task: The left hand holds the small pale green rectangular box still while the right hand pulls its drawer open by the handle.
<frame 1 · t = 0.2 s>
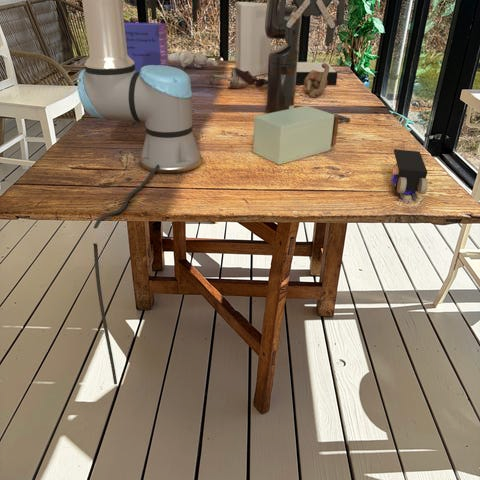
left hand: (174, 20, 152), 28 cm above the table, tool pointing down, fingers open, 13 cm apart
right hand: (308, 45, 107), 29 cm above the table, tool pointing down, fingers open, 8 cm apart
anatomical model: (314, 94, 186), on the table
tall white carton: (253, 72, 218), on the table
figurine character: (405, 190, 111), on the table
cereal box: (146, 90, 187), on the table
figurine: (247, 88, 192), on the table
pale green rectangular box: (292, 151, 132), on the table
toy: (186, 67, 225), on the table
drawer: (309, 129, 132), point 5 cm above the table, slide at 1.4 cm
disc drive: (311, 79, 208), on the table
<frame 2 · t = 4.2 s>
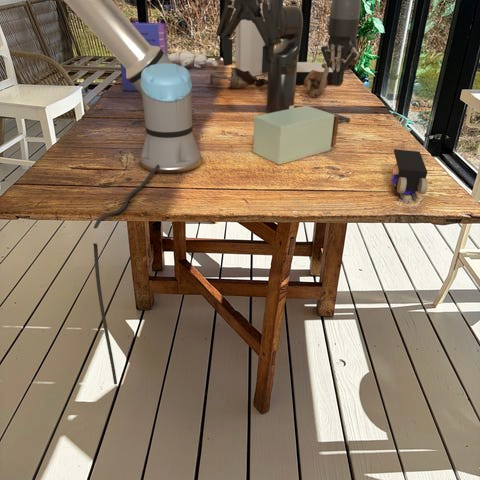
left hand: (246, 68, 128), 20 cm above the table, tool pointing down, fingers open, 13 cm apart
right hand: (336, 85, 131), 16 cm above the table, tool pointing down, fingers closed
nothing on the table moved.
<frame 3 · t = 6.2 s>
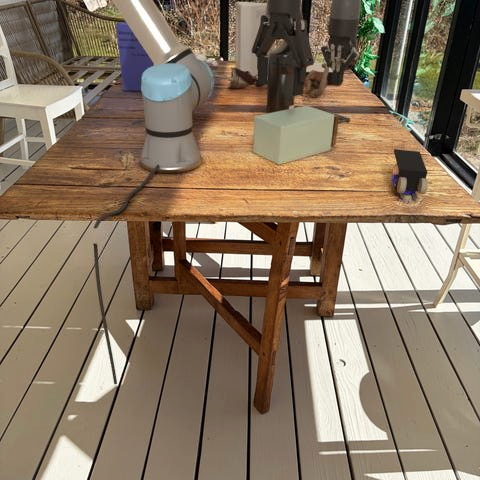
left hand: (279, 89, 120), 18 cm above the table, tool pointing down, fingers open, 13 cm apart
right hand: (336, 85, 131), 16 cm above the table, tool pointing down, fingers closed
nothing on the table moved.
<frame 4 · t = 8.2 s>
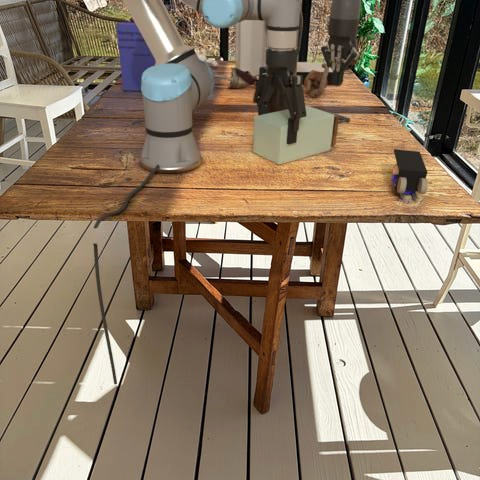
left hand: (276, 136, 126), 5 cm above the table, tool pointing down, fingers closed on pale green rectangular box, 11 cm apart
right hand: (336, 85, 131), 16 cm above the table, tool pointing down, fingers closed
pale green rectangular box: (292, 151, 132), on the table, touching left hand
everything else where it was.
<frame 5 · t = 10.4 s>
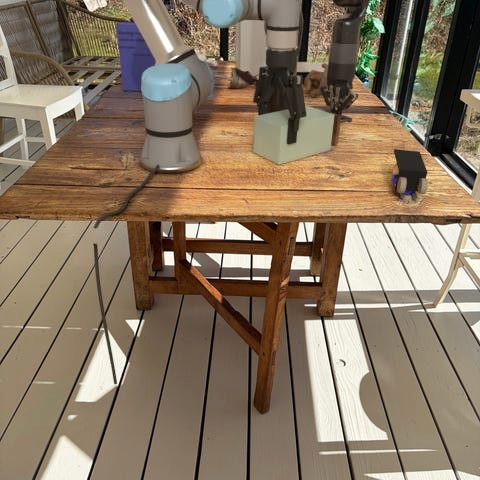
left hand: (276, 136, 126), 5 cm above the table, tool pointing down, fingers closed on pale green rectangular box, 11 cm apart
right hand: (335, 123, 137), 5 cm above the table, tool pointing down, fingers closed
pale green rectangular box: (292, 151, 132), on the table, touching left hand
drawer: (311, 129, 133), point 5 cm above the table, slide at 2.3 cm, touching right hand
everything else where it was.
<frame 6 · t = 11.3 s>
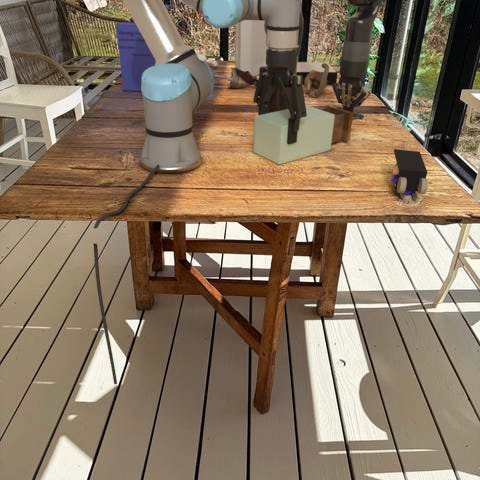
left hand: (277, 136, 126), 5 cm above the table, tool pointing down, fingers closed on pale green rectangular box, 11 cm apart
right hand: (346, 119, 140), 5 cm above the table, tool pointing down, fingers closed
pale green rectangular box: (292, 150, 132), on the table, touching left hand
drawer: (324, 126, 135), point 5 cm above the table, slide at 7.0 cm, touching right hand
everything else where it was.
when the left hand's fingers open (5 cm above the table, at t = 13.1 s): pale green rectangular box stays where it is, on the table.
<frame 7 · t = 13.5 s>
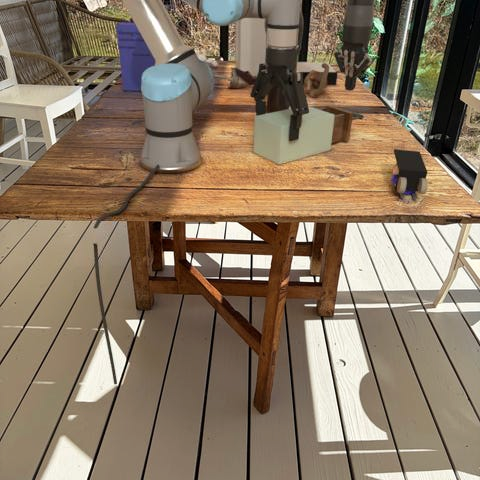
left hand: (276, 132, 126), 6 cm above the table, tool pointing down, fingers open, 13 cm apart
right hand: (349, 89, 135), 14 cm above the table, tool pointing down, fingers closed
pale green rectangular box: (292, 151, 132), on the table
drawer: (324, 126, 135), point 5 cm above the table, slide at 7.0 cm
everything else where it was.
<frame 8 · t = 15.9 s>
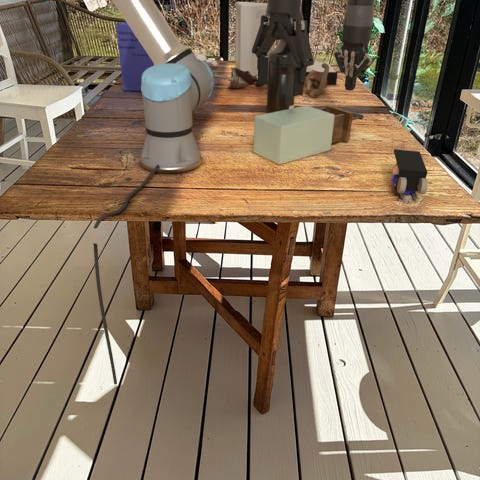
left hand: (279, 89, 120), 17 cm above the table, tool pointing down, fingers open, 13 cm apart
right hand: (349, 89, 135), 14 cm above the table, tool pointing down, fingers closed
nothing on the table moved.
at the end: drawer slide at 7.0 cm; pale green rectangular box tilted 0°; pale green rectangular box never tilted more than 1° during the clip; pale green rectangular box moved 0.1 cm from its start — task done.
